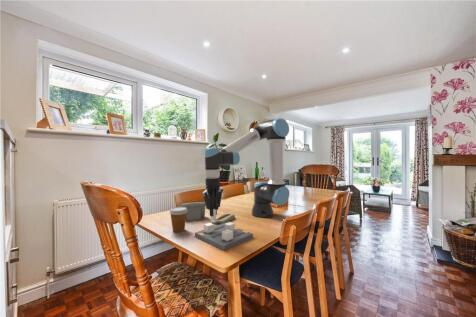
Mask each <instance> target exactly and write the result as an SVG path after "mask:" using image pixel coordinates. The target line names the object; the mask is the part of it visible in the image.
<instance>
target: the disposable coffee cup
mask: <svg viewBox="0 0 476 317" xmlns="http://www.w3.org/2000/svg"><path fill="white" fill-rule="evenodd" d="M186 213H187V208H186V207H181V206H176V207H172V208H170V210H169V214H170V218H171V219H170V220H171V226H172V232H174V233H181V232H184V231H185V228H186V221H187V219H186Z"/></svg>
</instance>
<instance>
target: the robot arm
mask: <svg viewBox="0 0 476 317" xmlns="http://www.w3.org/2000/svg"><path fill="white" fill-rule="evenodd" d="M289 133H290V126H289V123H288V122H287V120H286V119H284V118H281V117H279V118H273V119H269V120H264V121H262V122H260V123H258V124H257V125H256V126H254V127H252V128H250V130H249V132H247V133H245V134H243V135H242V136H241V137H239V138H237V139H236V140H234V141H232V142H231V143H229V144H227V145H226V146H224V147H223V148H221V149H220V148H218V147H209V148H206V149H205V150H204V164H205V165H204V166H205V169H204V171H205V172H204V173H205V190H204V191H202V192H201V195H202V196H203V199H204V202H205V205H206V206H205V210H209V216H210V223H212V222H214V223H215V222H216V219H217V215H218V210H219V208H220V207H221V202H222V196H223V192H224V189H223V188H221V187H220V184H221V178H220V177H221V173H220V172H221V171H220V170H221V168H220V166H235V165H238V164H240V161H241V160H240V159H241V157H240V154H239V153H240V152H241V151H243V150H245V149H246V148H247V147H249V146H251V145H252V144H254V143H255V142H260V141H262V140H264V139H265V140H266V141H267V143H269V144H268V148H269V150H268V151H269V152H268V153H269V154H268V157H269V158H268V160H269V161H268V162H269V163H268V166H269V167H268V169H269V173H268V174H269V175H268V176H269V180H268V181H256V182H254V185H253V191H254V192H253V193H254V194H253V198H254V199H253V206H252V210H251V215H252V216H253V217H256V218H265V219H266V218H272V217H273V216H274V210H273V207H272V204H274V205H279V206H280V205H284V204H286V203H287V202H288V200H289V197H290V191H289V190H290V189H289V188H288V187H287V186H286V181H284V155H283V154H284V146H283V145H284V142H285V141H286V137H287V136H288V135H289Z"/></svg>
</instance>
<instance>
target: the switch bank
mask: <svg viewBox="0 0 476 317" xmlns="http://www.w3.org/2000/svg"><path fill="white" fill-rule="evenodd" d="M222 231H224V223H223V224H220V225H217V224H216V225H214V231H212V232H210V233H207V232H204V229H202V230H199V231H196V232H194V238H197V239H199V240H201V241H202V242H205V243H207V244H209V245H211V246H213V247H216V248H217V249H219V250H221V251H226V250H228V249H230V248H233V247H236V246H237V245H239V244H241V243H244V242H246V241H248V240H250V239H252V238H254V233H253V232H250V231H247V230H244V229H242V228H239V227H236V226H234V231H233V239H231V240H229V241H225V240H223V239H222Z"/></svg>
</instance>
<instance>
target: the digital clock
mask: <svg viewBox="0 0 476 317" xmlns="http://www.w3.org/2000/svg"><path fill="white" fill-rule="evenodd" d="M180 207H186V208H187V213H186V221H196V220H197V221H199V220H201V219H202V218H203V217H205V215H206V205H205V201H200V202H188V203H187V202H186V203H184V202H183V203H181V204H180Z"/></svg>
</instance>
